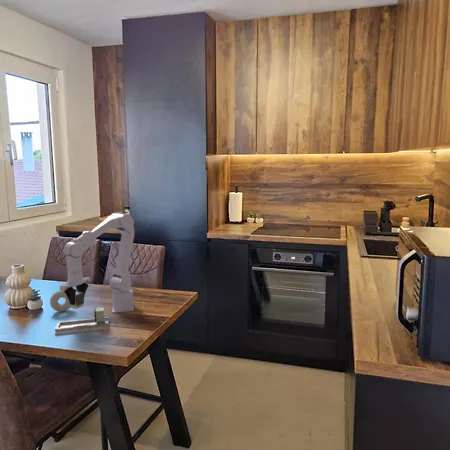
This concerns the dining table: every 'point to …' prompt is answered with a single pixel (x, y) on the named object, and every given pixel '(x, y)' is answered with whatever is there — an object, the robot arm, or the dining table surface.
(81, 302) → the pale green cuboid
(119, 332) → the dining table surface
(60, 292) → the donut
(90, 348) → the dining table surface
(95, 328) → the tray
